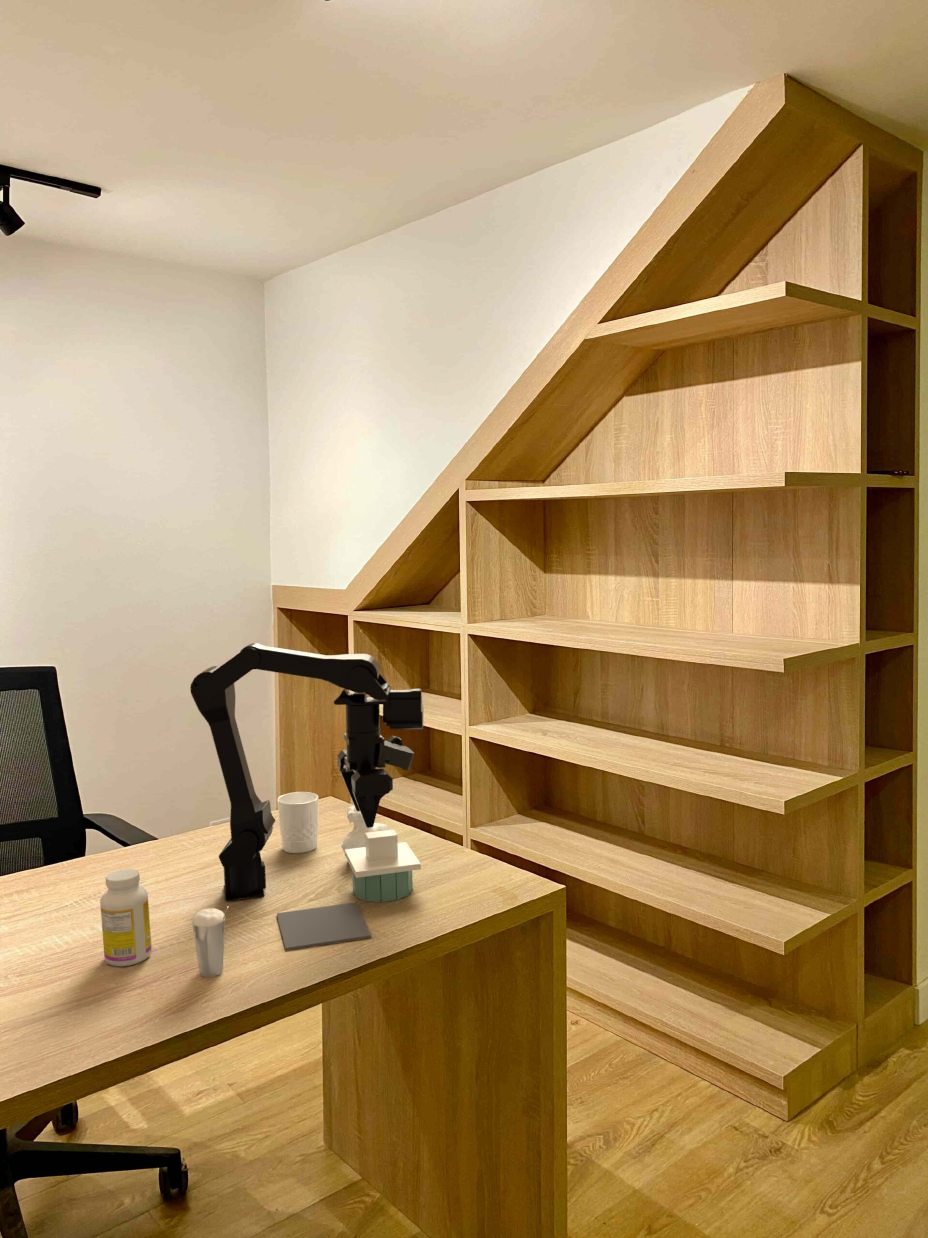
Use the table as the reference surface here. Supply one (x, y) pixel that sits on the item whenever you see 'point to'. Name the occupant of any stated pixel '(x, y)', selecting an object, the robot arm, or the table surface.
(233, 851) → the robot arm
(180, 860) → the table surface
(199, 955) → the milkshake
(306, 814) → the white cup
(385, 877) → the bowl
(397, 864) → the lid
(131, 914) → the supplement bottle
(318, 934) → the mat
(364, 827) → the bust
